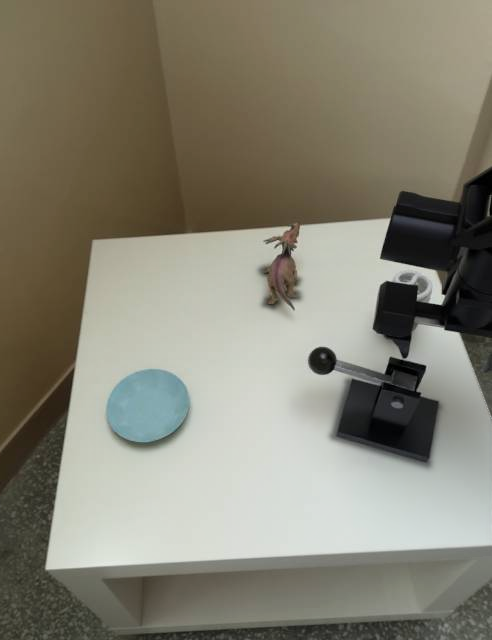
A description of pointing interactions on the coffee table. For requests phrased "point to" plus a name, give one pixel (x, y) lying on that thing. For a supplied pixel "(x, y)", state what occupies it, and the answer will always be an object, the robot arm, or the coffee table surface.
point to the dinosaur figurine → (283, 266)
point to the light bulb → (415, 279)
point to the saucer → (147, 405)
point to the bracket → (390, 414)
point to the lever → (356, 369)
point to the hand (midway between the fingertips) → (444, 362)
